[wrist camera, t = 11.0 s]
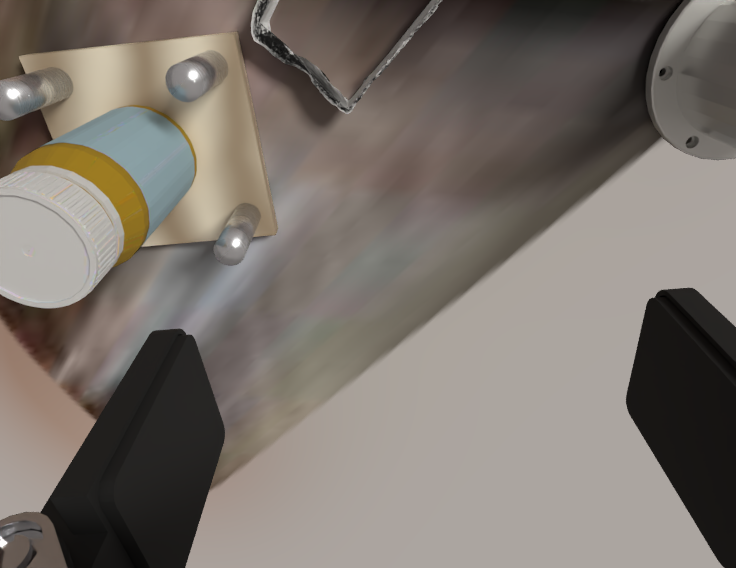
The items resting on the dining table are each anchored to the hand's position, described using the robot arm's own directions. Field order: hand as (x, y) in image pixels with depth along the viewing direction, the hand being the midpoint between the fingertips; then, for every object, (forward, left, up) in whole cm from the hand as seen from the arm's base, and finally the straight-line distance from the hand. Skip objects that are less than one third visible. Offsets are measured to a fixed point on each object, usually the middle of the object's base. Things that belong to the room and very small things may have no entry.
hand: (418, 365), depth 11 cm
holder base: (+16, +2, -28) cm, 33 cm away
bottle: (+17, +2, -27) cm, 32 cm away
